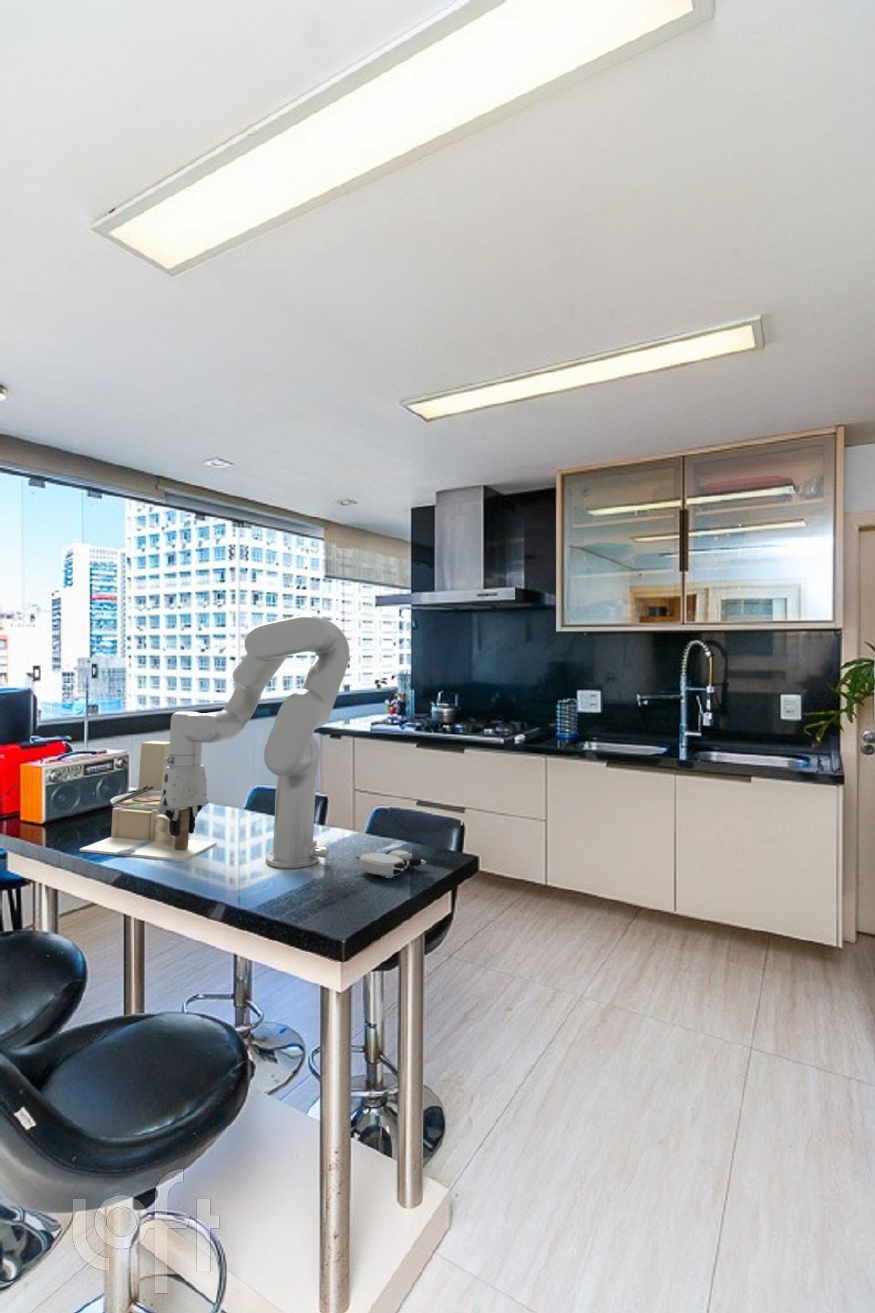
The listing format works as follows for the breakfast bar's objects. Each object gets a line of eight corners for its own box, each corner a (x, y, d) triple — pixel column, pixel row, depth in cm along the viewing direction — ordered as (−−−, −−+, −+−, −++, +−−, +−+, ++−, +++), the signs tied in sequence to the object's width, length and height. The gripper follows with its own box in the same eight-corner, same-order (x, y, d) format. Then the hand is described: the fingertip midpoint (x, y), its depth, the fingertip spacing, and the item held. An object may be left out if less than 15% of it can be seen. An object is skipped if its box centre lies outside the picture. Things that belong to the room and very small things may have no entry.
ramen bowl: (173, 836, 167) (175, 806, 167) (89, 833, 166) (91, 803, 167) (207, 815, 192) (208, 788, 192) (133, 812, 191) (135, 785, 192)
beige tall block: (172, 805, 203) (175, 741, 204) (160, 809, 196) (163, 744, 196) (149, 803, 204) (153, 740, 204) (136, 808, 197) (140, 742, 197)
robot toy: (389, 863, 155) (348, 873, 142) (390, 845, 155) (350, 853, 143) (428, 874, 148) (390, 886, 135) (430, 855, 148) (391, 865, 136)
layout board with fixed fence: (216, 844, 161) (218, 812, 161) (181, 863, 145) (183, 827, 145) (119, 835, 165) (121, 804, 166) (75, 852, 150) (77, 817, 150)
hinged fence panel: (190, 847, 154) (192, 809, 154) (179, 850, 152) (181, 811, 152) (162, 838, 161) (164, 801, 161) (150, 840, 159) (152, 803, 159)
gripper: (161, 765, 146) (157, 843, 145) (222, 759, 158) (219, 830, 158) (145, 762, 150) (142, 837, 150) (206, 756, 163) (203, 825, 163)
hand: (181, 833), depth 154 cm, fingers closed on hinged fence panel, 3 cm apart
